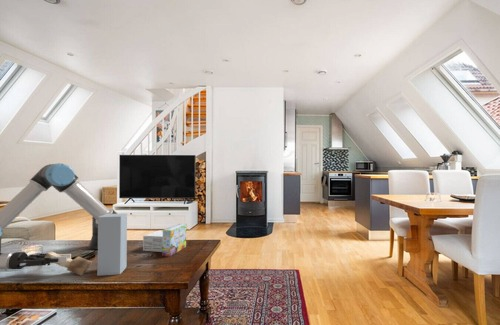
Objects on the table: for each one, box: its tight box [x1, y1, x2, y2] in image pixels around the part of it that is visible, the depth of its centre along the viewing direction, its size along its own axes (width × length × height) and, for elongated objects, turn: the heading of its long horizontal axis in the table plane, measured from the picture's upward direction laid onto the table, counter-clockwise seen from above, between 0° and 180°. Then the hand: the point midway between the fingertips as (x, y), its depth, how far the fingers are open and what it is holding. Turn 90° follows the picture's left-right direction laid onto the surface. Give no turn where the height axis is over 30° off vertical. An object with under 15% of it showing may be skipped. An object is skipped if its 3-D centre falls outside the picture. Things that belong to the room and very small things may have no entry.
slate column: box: [96, 212, 128, 277], centre depth 132 cm, size 10×10×27 cm
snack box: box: [161, 223, 187, 258], centre depth 164 cm, size 21×6×15 cm, turn 168°
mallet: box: [44, 250, 93, 276], centre depth 128 cm, size 19×7×4 cm, turn 98°
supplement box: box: [142, 230, 163, 253], centre depth 173 cm, size 17×13×9 cm
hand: (68, 258), depth 128 cm, fingers closed on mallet, 3 cm apart
